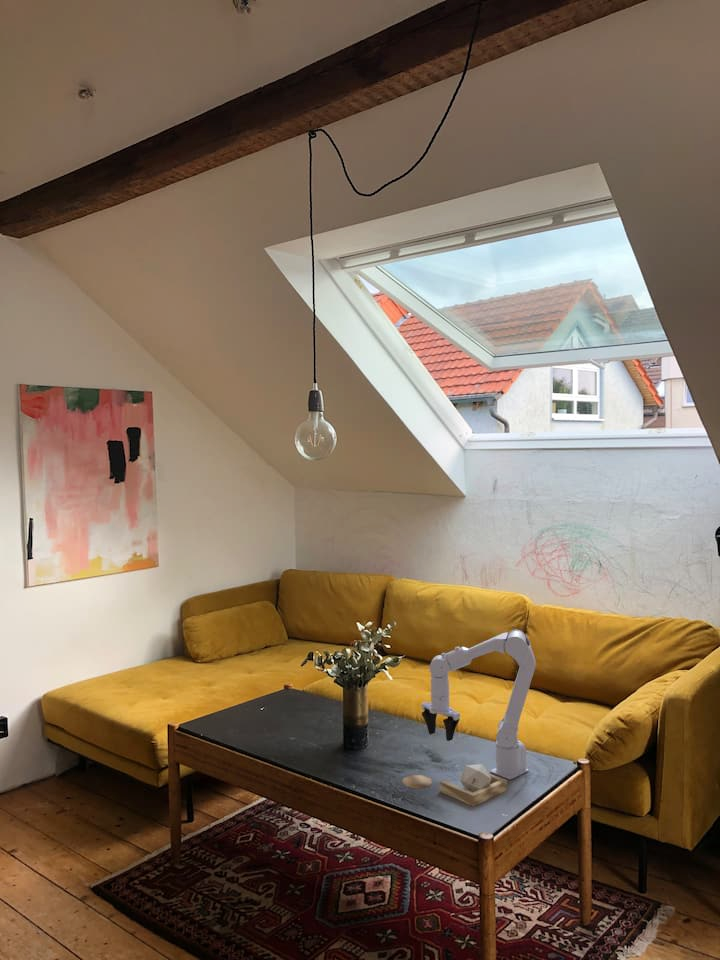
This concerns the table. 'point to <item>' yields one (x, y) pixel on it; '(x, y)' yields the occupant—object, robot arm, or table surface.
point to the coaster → (417, 781)
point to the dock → (476, 797)
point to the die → (475, 777)
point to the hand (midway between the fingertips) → (440, 736)
